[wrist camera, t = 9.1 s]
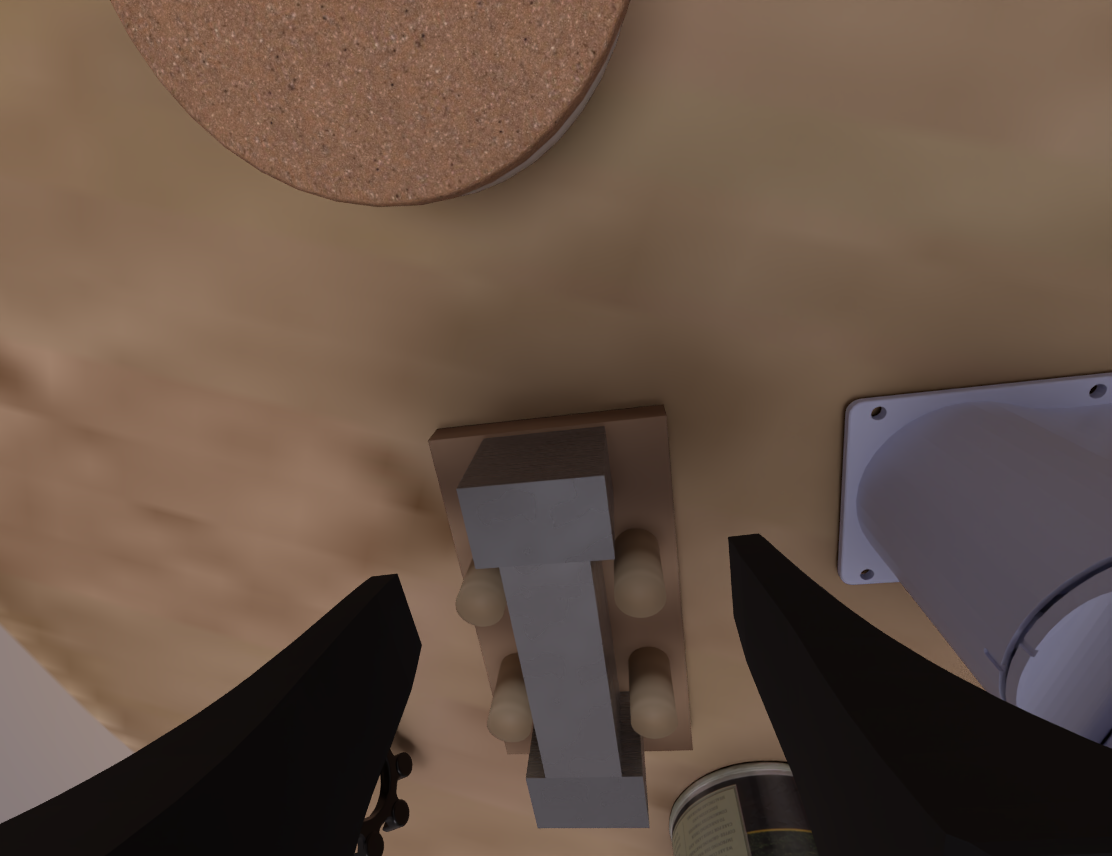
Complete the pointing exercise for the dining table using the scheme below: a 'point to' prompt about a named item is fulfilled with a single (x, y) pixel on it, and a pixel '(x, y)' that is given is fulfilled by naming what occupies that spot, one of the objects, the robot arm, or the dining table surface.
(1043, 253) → the dining table surface
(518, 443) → the metal i-beam
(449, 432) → the peg rack
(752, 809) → the coffee can
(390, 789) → the valve
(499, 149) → the lidded jar
